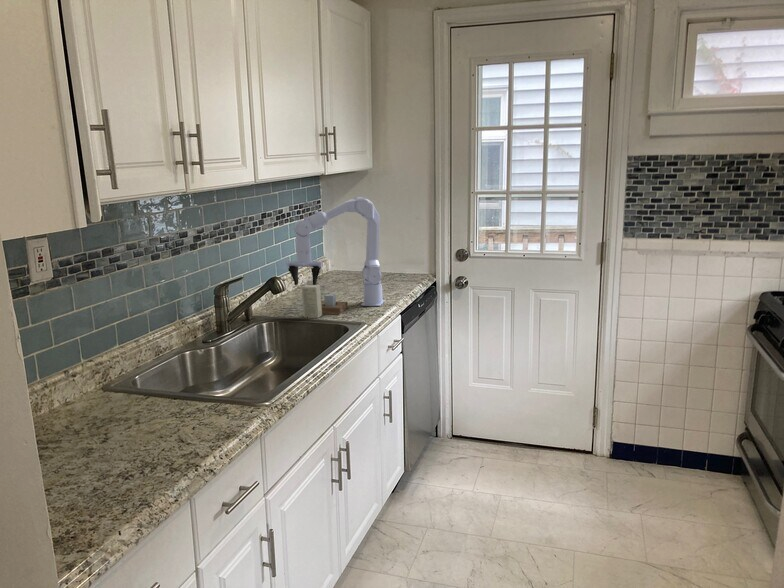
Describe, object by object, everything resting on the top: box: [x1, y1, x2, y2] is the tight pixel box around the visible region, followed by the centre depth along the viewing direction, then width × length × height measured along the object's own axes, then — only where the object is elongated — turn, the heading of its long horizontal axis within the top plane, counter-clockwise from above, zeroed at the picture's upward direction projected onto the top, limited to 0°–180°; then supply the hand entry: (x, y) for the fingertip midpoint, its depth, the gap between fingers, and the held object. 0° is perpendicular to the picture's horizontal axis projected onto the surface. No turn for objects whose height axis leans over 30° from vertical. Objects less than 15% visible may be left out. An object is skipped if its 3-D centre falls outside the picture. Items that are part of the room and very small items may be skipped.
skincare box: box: [300, 284, 323, 319], centre depth 247 cm, size 6×4×12 cm
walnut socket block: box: [321, 300, 349, 315], centre depth 257 cm, size 11×11×2 cm
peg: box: [324, 293, 337, 306], centre depth 256 cm, size 4×4×6 cm
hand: (305, 284), depth 257 cm, fingers open, 7 cm apart
